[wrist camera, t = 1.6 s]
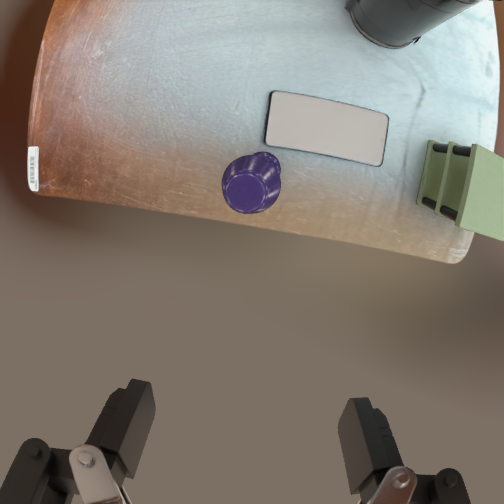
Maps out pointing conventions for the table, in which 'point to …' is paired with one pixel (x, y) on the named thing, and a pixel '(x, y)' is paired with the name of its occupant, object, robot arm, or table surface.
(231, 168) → the toy lamp
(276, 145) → the smartphone
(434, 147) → the shelf
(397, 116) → the table surface
